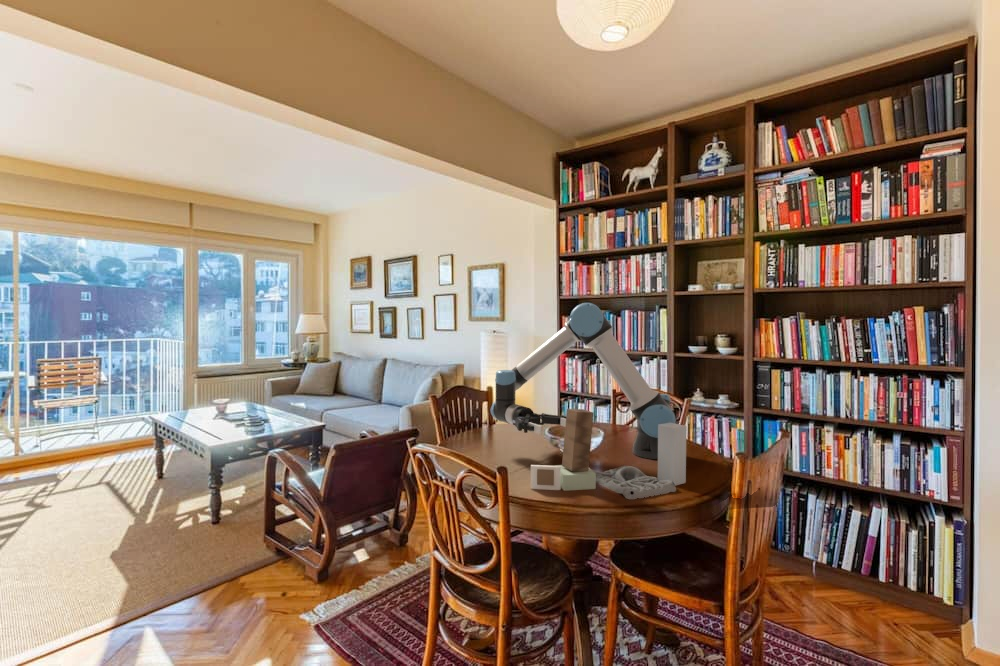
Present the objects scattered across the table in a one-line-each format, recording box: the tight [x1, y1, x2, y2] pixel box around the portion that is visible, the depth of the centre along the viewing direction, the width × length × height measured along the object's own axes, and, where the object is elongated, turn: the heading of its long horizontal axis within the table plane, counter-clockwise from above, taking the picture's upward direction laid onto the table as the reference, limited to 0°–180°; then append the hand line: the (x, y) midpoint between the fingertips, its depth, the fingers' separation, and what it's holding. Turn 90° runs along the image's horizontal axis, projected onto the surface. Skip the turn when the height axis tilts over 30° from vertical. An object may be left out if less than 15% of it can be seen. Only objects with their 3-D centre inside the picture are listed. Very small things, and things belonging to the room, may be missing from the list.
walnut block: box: [561, 408, 594, 471], centre depth 152 cm, size 6×6×18 cm
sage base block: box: [554, 464, 597, 492], centre depth 151 cm, size 10×10×5 cm
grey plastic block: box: [657, 422, 687, 487], centre depth 153 cm, size 6×6×18 cm
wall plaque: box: [591, 464, 677, 500], centre depth 152 cm, size 24×19×4 cm
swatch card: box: [530, 464, 561, 491], centre depth 147 cm, size 2×9×7 cm, turn 83°
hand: (558, 427), depth 158 cm, fingers open, 13 cm apart
